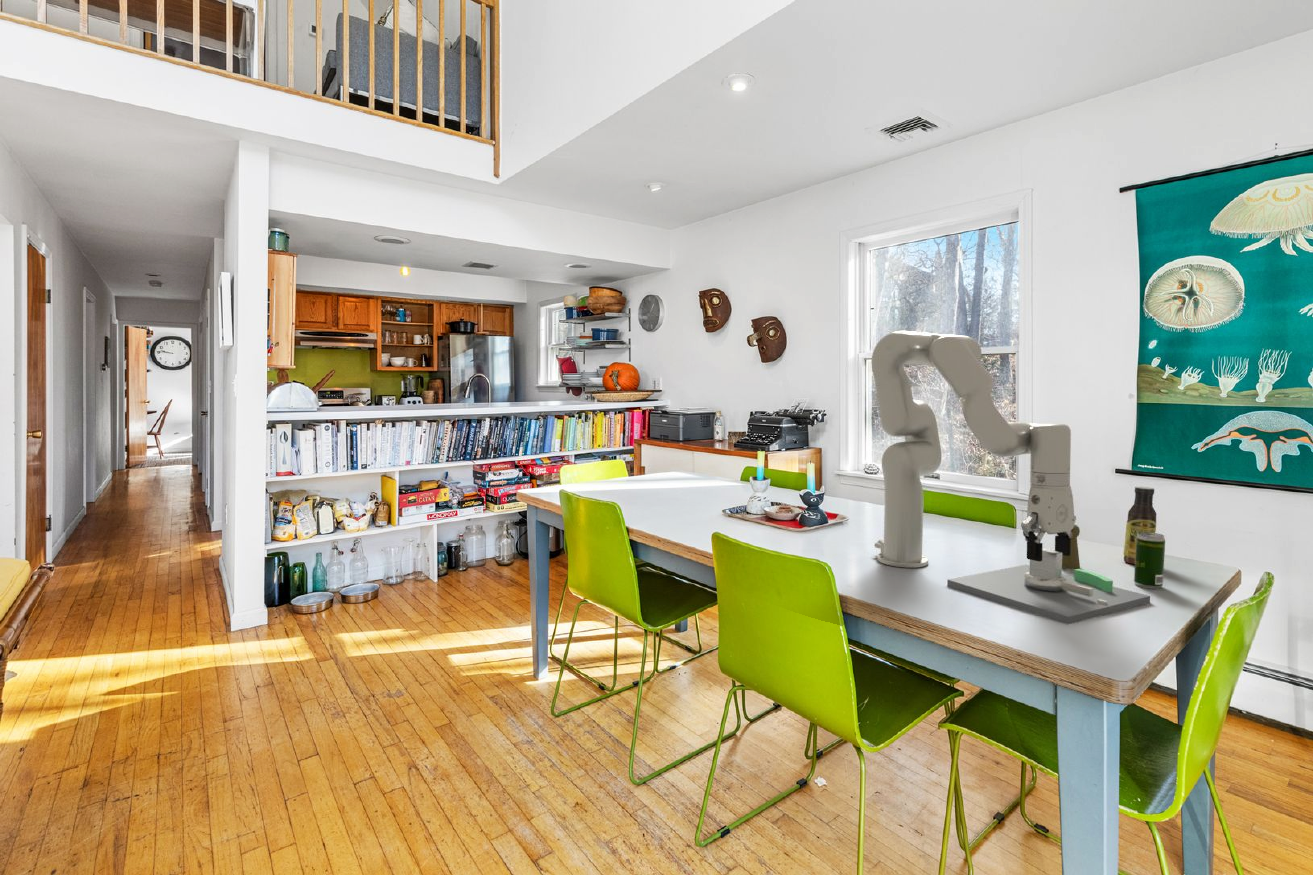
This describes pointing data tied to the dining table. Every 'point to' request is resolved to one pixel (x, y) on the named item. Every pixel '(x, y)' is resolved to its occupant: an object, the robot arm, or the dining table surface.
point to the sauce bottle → (1139, 520)
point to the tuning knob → (1051, 575)
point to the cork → (1072, 552)
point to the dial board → (1051, 594)
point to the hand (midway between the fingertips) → (1048, 557)
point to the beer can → (1149, 560)
